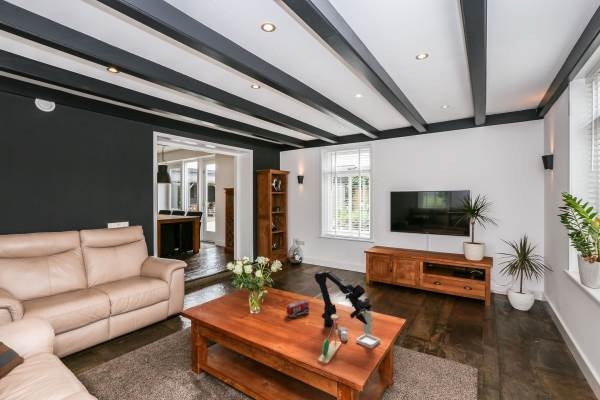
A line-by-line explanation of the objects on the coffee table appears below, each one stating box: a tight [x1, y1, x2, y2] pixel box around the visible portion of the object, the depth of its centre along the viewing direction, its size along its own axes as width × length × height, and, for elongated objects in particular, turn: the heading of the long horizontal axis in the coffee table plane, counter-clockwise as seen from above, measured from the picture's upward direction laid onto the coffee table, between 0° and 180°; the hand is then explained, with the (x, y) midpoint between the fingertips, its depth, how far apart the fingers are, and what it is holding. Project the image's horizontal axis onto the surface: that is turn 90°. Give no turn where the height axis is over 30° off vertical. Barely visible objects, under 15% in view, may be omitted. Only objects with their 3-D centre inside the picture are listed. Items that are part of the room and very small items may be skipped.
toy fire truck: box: [285, 298, 311, 319], centre depth 229 cm, size 9×19×10 cm, turn 123°
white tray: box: [355, 333, 381, 349], centre depth 186 cm, size 11×11×2 cm
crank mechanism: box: [317, 313, 342, 366], centre depth 174 cm, size 25×7×19 cm, turn 153°
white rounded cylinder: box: [340, 331, 349, 342], centre depth 190 cm, size 4×4×4 cm
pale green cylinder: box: [362, 310, 373, 335], centre depth 185 cm, size 5×5×13 cm
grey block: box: [337, 326, 348, 338], centre depth 196 cm, size 5×5×4 cm
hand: (369, 322), depth 184 cm, fingers closed on pale green cylinder, 5 cm apart
